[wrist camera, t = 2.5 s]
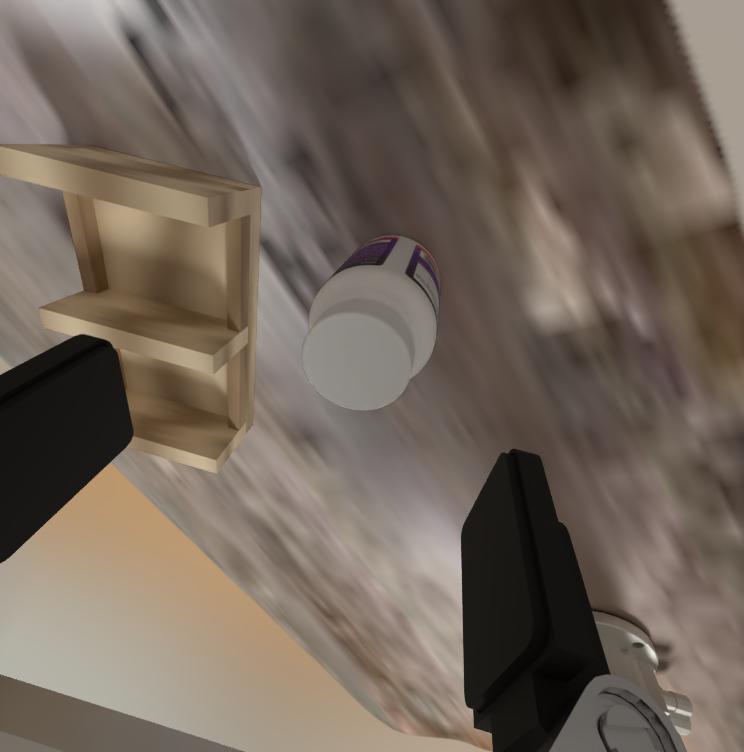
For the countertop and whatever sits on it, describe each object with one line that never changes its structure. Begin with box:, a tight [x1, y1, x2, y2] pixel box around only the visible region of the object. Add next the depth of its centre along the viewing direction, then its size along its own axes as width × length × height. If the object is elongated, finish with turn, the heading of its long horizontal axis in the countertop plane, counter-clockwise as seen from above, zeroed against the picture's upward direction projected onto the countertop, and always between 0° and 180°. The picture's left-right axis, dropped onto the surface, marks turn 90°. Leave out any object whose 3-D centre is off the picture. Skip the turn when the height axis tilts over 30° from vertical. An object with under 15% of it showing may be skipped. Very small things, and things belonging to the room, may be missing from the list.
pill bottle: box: [302, 235, 441, 411], centre depth 18 cm, size 5×5×10 cm
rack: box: [0, 144, 261, 473], centre depth 23 cm, size 10×17×5 cm, turn 169°
